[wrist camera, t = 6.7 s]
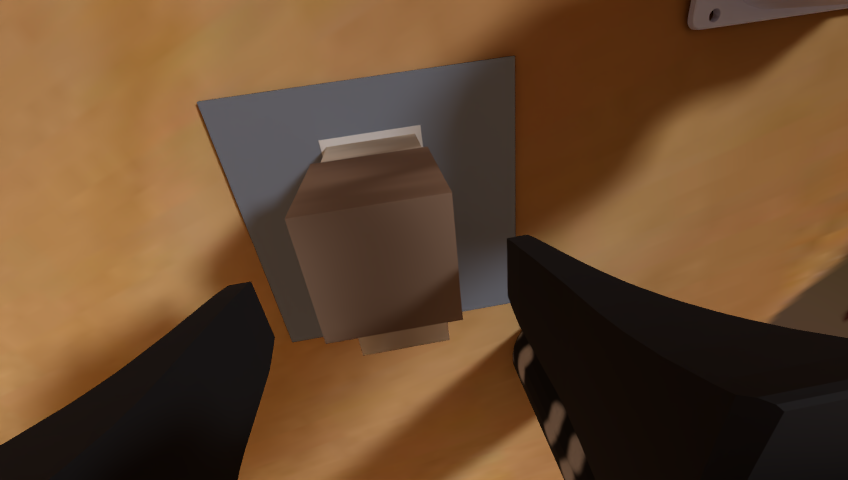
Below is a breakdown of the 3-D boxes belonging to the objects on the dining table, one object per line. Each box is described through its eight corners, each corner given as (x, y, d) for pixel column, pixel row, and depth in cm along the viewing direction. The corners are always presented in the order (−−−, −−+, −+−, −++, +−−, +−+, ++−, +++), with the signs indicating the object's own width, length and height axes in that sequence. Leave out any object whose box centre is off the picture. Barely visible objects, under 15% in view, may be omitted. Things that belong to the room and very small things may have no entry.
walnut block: (427, 146, 13) (452, 192, 9) (438, 246, 15) (462, 319, 11) (310, 163, 13) (284, 218, 9) (337, 263, 15) (326, 343, 11)
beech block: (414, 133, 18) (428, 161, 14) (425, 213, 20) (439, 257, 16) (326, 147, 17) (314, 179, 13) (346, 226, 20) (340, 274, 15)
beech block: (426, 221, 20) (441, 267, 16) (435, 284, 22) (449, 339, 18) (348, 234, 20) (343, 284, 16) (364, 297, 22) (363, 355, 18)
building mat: (513, 55, 17) (515, 55, 17) (514, 300, 24) (515, 302, 23) (198, 101, 16) (196, 102, 16) (293, 339, 23) (292, 342, 23)
